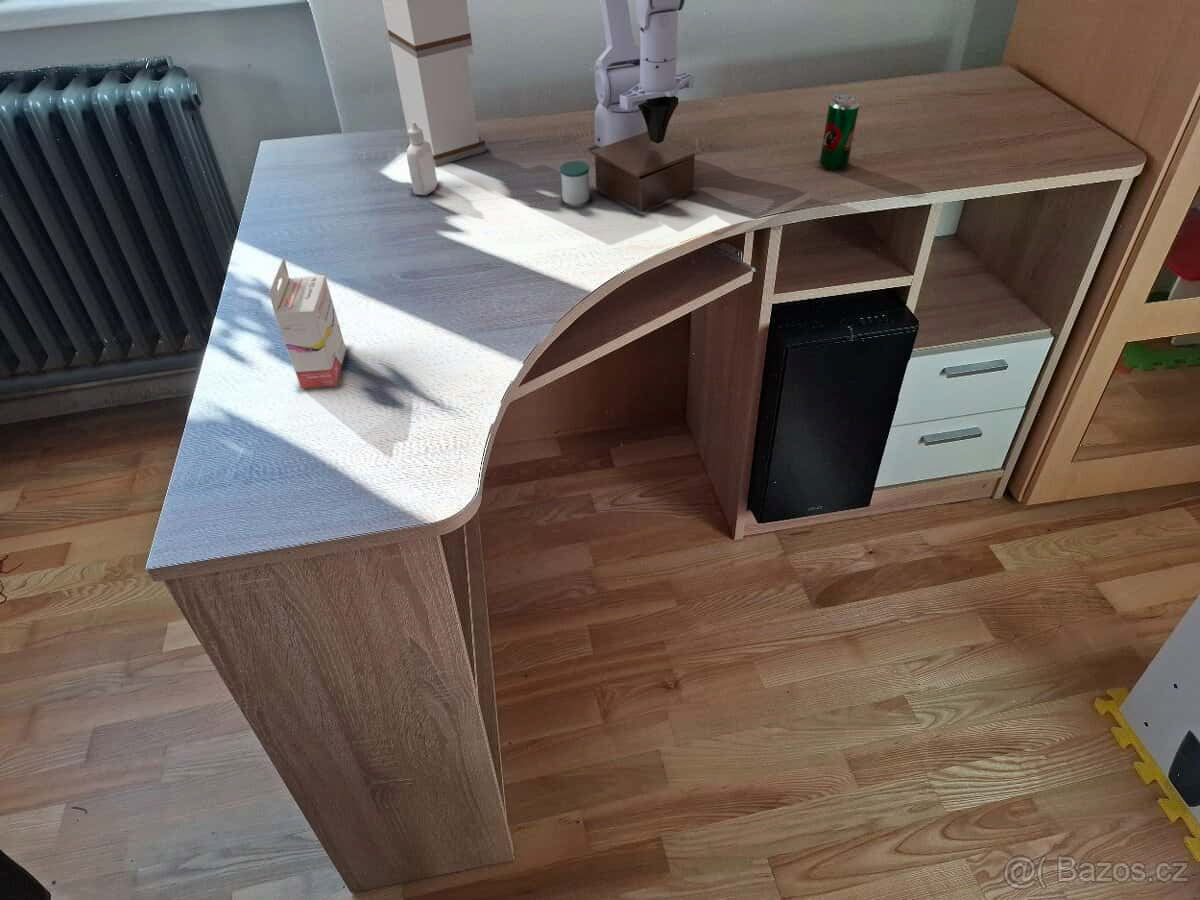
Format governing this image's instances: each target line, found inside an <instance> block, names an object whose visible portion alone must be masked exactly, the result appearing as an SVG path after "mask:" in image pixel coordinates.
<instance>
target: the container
mask: <svg viewBox="0 0 1200 900" xmlns="http://www.w3.org/2000/svg"><path fill="white" fill-rule="evenodd" d="M559 170H560V171H559V172H560V177H561V178H560V179H561V193H562V194H561V195H562V200H563V202H565V203H566V204H570V205H580V204H585V203H587V202H588V201H589V200H590V177H589V175H590V174H589V171H590V167H589V164H588V163H587V162H584V161H581V160H571V161H567V162H563V164H561V165H560V168H559Z"/></svg>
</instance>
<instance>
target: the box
mask: <svg viewBox="0 0 1200 900" xmlns="http://www.w3.org/2000/svg"><path fill="white" fill-rule="evenodd" d="M695 157H696V156H695ZM695 157H692V158H689V159H687V160H684V161H681V162H678V163H676V164H673V165H670V166H667V167H665V168H662V169H659V170H656V171H654V172H651V173H648V174H645V175H643V176H640V177H636V176H634V175H632V174H630V173H628V172H626V171H624V170H623V169H621V168H619V167H617V166H615V165H613V164H611V163H609V162H607V161H605V160H603V159H601V158H599V157H597V156H595V155H594V166H595V168H594V170H595V188H596V189H597V190H599V191H601V192H603V193H604V194H606V195H608V196H610V197H612V198H614V199H615V200H617V201H619V202H621V203H623V204H625V205H627V206H629V207H630V208H632V209H634V210H636V211H638V212H639V213H644V212H645V211H648V210H650V209H652V208H654V207H657V206H659V205H661V204H663V203H667V202H668V201H671V200H673V199H675V198H678V197H680V196H681V195H685V194H686V193H688V192H691V191H693V190H694V177H695V176H694V175H695Z"/></svg>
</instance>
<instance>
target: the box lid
mask: <svg viewBox="0 0 1200 900" xmlns="http://www.w3.org/2000/svg"><path fill="white" fill-rule="evenodd" d="M590 154H591V155H593V156H594V157H595V156H597V157H599V158H601V159H603V160H605V161H607V162H609V163H611V164H613V165H615V166H617V167H619V168H621V169H623V170H624V171H626V172H628V173H630V174H632V175H634V176H636V177H640V176H643V175H645V174H648V173H651V172H654V171H656V170H659V169H662V168H665V167H667V166H670V165H673V164H676V163H678V162H681V161H684V160H687V159H689V158H692V157H696V154H695V152H693V151H691V150H688V149H687V148H684V147H682V146H679V145H678V144H676V143H673V142H671V141H668V140H666V139H664V140H663V142H661V143H658V144H657V143H655V142H652V141H650V138H649V134H648V131H646V132H645V133H643V134H639V135H636V136H633V137H630V138H627V139H624V140H621V141H618V142H615V143H612V144H609V145H606V146H603V147H598V148H595V149H591V151H590Z"/></svg>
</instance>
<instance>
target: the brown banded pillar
mask: <svg viewBox="0 0 1200 900" xmlns="http://www.w3.org/2000/svg"><path fill="white" fill-rule="evenodd" d="M381 3H382V9H383V13H384V18H385V23H386V29H387V34H388V38H389V43H390V49H391V55H392V61H393V64H394V70H395V74H396V79H397V85H398V90H399V96H400V100H401V105H402V111H403V116H404V120H405V126H406V129H407V130H406V131H407V133H408V130H409V129H411V122H413V121H415V122H416V124H417V127H418V128H421V129H422V131H423V137H424V140H425V141H428V142H429V143H430V145H431V149H432V155H433V160H434V166H435V167H439V166H441V165H444V164H448V163H452V162H454V161H458V160H462V159H464V158H467V157H471V156H475V155H478V154H482V153H484V152H487V149H486V141H485V139H483V138H481V137H480V136H479V130H478V123H477V116H476V109H475V101H474V93H473V86H472V79H471V78H472V77H471V71H470V63H469V56H468V55H474V48H473V40H472V31H471V24H470V16H469V10H468V2H467V0H381ZM407 137H408V138H409V135H408V134H407ZM408 140H409V139H408ZM409 143H410V140H409Z"/></svg>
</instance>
